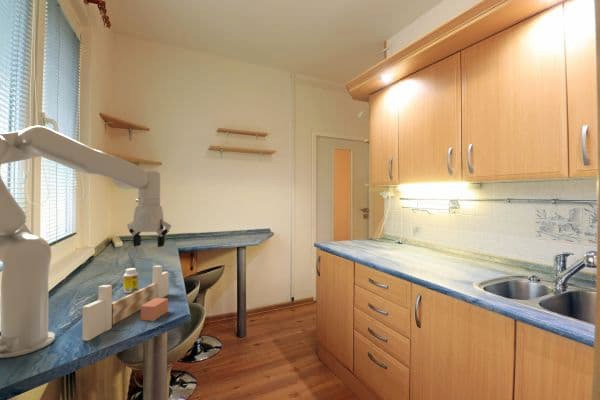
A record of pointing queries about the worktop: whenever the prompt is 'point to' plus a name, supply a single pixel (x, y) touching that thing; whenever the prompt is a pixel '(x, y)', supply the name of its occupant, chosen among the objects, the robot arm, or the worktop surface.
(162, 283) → the wall frame
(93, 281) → the worktop surface
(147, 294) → the gate door
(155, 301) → the salmon orange block
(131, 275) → the supplement bottle
